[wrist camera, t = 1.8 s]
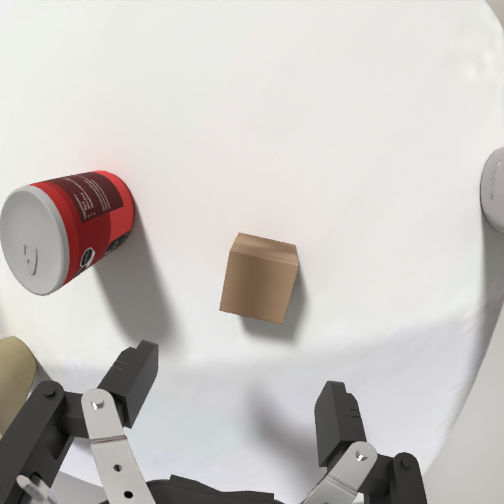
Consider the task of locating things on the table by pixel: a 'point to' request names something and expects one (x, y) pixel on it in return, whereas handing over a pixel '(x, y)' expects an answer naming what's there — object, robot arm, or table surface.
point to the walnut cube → (259, 278)
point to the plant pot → (14, 379)
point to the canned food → (63, 227)
